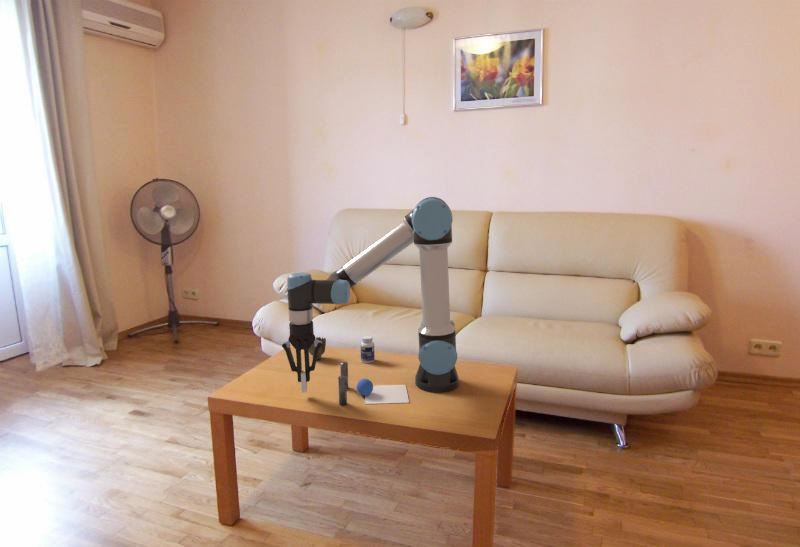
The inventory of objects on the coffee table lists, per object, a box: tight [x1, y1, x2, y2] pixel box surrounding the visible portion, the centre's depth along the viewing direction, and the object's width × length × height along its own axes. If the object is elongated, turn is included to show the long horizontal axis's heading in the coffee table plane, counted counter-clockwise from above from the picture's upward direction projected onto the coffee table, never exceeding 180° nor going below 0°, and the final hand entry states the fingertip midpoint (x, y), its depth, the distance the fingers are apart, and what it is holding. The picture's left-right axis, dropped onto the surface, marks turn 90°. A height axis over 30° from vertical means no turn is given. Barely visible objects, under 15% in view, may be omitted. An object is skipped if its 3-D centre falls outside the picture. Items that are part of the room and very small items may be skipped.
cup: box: [309, 336, 327, 361], centre depth 201 cm, size 8×7×8 cm
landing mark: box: [364, 384, 410, 405], centre depth 169 cm, size 14×14×1 cm
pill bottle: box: [360, 335, 375, 364], centre depth 199 cm, size 5×5×10 cm
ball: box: [356, 378, 374, 397], centre depth 168 cm, size 6×6×6 cm
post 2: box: [337, 375, 348, 406], centre depth 161 cm, size 2×2×9 cm
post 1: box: [339, 361, 349, 390], centre depth 173 cm, size 2×2×9 cm
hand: (304, 390), depth 167 cm, fingers closed
